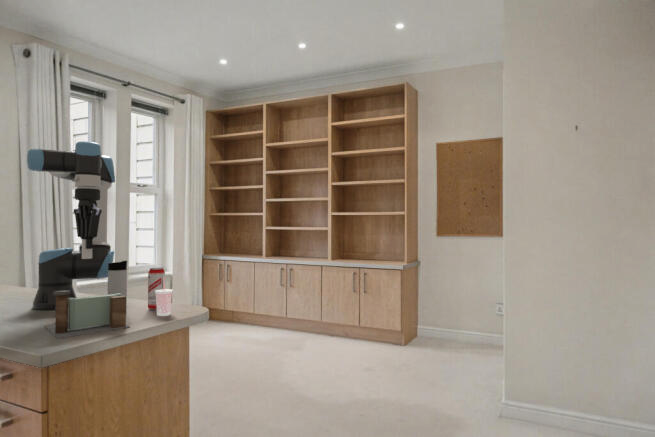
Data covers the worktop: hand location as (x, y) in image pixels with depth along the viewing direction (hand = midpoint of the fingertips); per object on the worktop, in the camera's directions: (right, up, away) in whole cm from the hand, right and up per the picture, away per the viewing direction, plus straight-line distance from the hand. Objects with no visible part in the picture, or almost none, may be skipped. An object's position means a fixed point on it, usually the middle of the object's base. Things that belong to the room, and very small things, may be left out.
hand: (87, 258), depth 144 cm
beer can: (+13, -22, +25) cm, 36 cm away
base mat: (+3, -22, -5) cm, 22 cm away
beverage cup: (+20, -22, +15) cm, 33 cm away
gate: (+6, -21, -7) cm, 23 cm away
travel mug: (+4, -22, +13) cm, 26 cm away
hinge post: (0, -22, -13) cm, 25 cm away
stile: (+13, -22, -6) cm, 26 cm away
